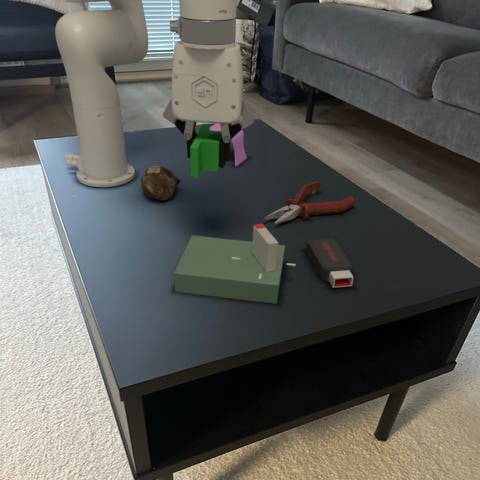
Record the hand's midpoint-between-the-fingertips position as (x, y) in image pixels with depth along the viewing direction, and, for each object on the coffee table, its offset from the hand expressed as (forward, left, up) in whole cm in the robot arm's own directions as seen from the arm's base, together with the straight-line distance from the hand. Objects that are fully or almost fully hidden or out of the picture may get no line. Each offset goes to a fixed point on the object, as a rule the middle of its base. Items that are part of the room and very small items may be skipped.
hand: (208, 162), depth 79 cm
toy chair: (-5, +43, -16) cm, 46 cm away
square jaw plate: (+11, -8, -12) cm, 18 cm away
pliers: (+15, +20, -16) cm, 30 cm away
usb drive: (+21, -2, -16) cm, 27 cm away
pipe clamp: (0, 0, 0) cm, 0 cm away
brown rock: (-15, +20, -16) cm, 29 cm away
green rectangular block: (+7, -8, -15) cm, 19 cm away
